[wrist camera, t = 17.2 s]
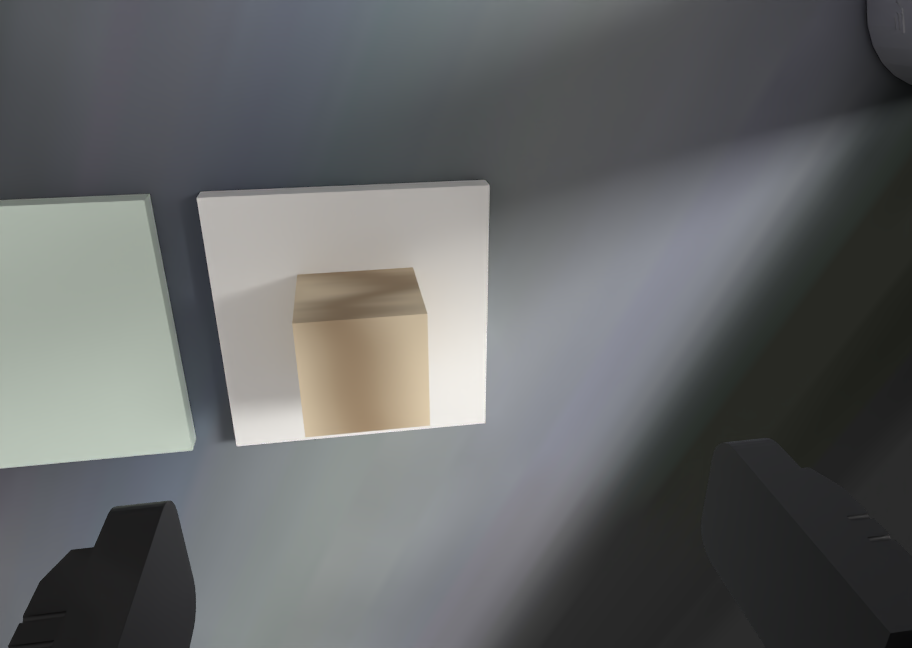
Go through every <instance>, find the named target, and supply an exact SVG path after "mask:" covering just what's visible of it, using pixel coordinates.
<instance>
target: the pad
mask: <svg viewBox="0 0 912 648" xmlns="http://www.w3.org/2000/svg"><path fill="white" fill-rule="evenodd" d="M489 196H490V185H489V184H488V183H487V181H486V180H465V181H441V182H417V183H393V184H370V185H346V186H322V187H298V188H274V189H250V190H226V191H203V192H200V193H199V195H198V196H197V204H198V210H199V216H200V222H201V229H202V235H203V241H204V247H205V253H206V260H207V266H208V272H209V278H210V284H211V290H212V297H213V303H214V309H215V315H216V321H217V328H218V334H219V340H220V346H221V352H222V358H223V365H224V371H225V377H226V383H227V389H228V396H229V402H230V408H231V414H232V420H233V426H234V433H235V439H236V445H237V446H245V445H256V444H267V443H277V442H288V441H299V440H309V439H320V438H331V437H341V436H352V435H363V434H373V433H384V432H395V431H405V430H416V429H427V428H437V427H448V426H459V425H469V424H480V423H485V403H486V352H487V300H488V248H489ZM411 267H413V269H414V272H415V276H416V279H417V282H418V285H419V288H420V292H421V295H422V298H423V301H424V304H425V308H426V311H427V316H428V358H429V400H430V426H420V427H409V428H399V429H388V430H378V431H367V432H357V433H346V434H336V435H326V436H315V437H305V431H304V423H303V414H302V405H301V397H300V388H299V379H298V370H297V362H296V353H295V344H294V336H293V327H292V320H293V310H294V301H295V291H296V281H297V275H299V274H315V273H331V272H347V271H363V270H379V269H395V268H411Z"/></svg>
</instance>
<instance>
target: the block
mask: <svg viewBox="0 0 912 648" xmlns="http://www.w3.org/2000/svg"><path fill="white" fill-rule="evenodd" d="M292 327H293V336H294V344H295V353H296V362H297V370H298V379H299V388H300V397H301V405H302V414H303V423H304V431H305V437H315V436H326V435H336V434H346V433H357V432H367V431H378V430H388V429H399V428H409V427H420V426H430V400H429V358H428V316H427V311H426V308H425V304H424V301H423V298H422V295H421V292H420V288H419V285H418V282H417V279H416V276H415V272H414V269H413V267H411V268H395V269H379V270H363V271H347V272H331V273H315V274H299V275H297V281H296V291H295V301H294V310H293V320H292Z"/></svg>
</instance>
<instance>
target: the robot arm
mask: <svg viewBox="0 0 912 648" xmlns="http://www.w3.org/2000/svg"><path fill="white" fill-rule="evenodd" d="M867 21H868V28H869V32H870V36H871V40H872V44H873V47H874V49H875V50H876V52H877V54H878V56H879V58H880V60H881V62H882V63H883V64H884V65H885V66H886V67H887V68H888V69H889V71H890V72H891V73H892V74H893V75H894V76H896V77H898V78H899V79H901V80H903V81H905V82H907V83H908V84H911V85H912V0H867ZM701 533H702V539H703V544H704V547H705V551H706V553H707V556H708V558H709V560H710V562H711V564H712V565H713V567H714V568H715V570H716V571H717V573H718V575H719V576H720V578H721V579H722V581H723V582H724V584H725V585H726V587H727V589H728V590H729V592H730V593H731V595H732V596H733V598H734V599H735V601H736V603H737V604H738V606H739V607H740V609H741V610H742V612H743V613H744V615H745V616H746V618H747V620H748V621H749V623H750V624H751V626H752V627H753V629H754V630H755V632H756V634H757V635H758V637H759V638H760V640H761V641H762V643H763V644H764V646H765V648H912V556H911V555H910V554H909V553H908V552H907V551H906V550H905V549H904V548H903V547H902V546H901V545H900V544H899V543H898V542H897V541H896V540H891V539H890V534H889V533H888V532H887V531H886V530H885V529H884V528H883V527H882V526H881V525H880V524H879V523H878V522H877V521H876V520H875V519H874V518H872V519H870V518H869V513H868V512H867V511H866V510H865V509H864V508H863V507H862V506H861V505H860V504H859V503H858V502H857V501H856V500H855V499H854V498H853V497H852V496H851V495H850V494H849V493H848V492H847V491H846V490H845V489H844V488H843V487H841V486H839V485H838V484H836V483H834V482H833V481H831V480H829V479H828V478H826V477H824V476H822V475H821V474H819V473H817V472H816V471H814V470H812V469H811V468H800V467H799V465H798V464H797V463H796V462H795V461H794V460H793V459H792V458H791V457H790V456H789V455H788V454H787V453H786V452H785V451H784V450H783V449H782V448H781V447H780V446H779V445H778V444H777V443H776V442H775V441H774V440H772V439H769V438H763V439H754V440H745V441H735V442H726V443H721V444H719V445H718V446H717V447H716V448H715V450H714V453H713V457H712V463H711V469H710V474H709V480H708V486H707V491H706V497H705V502H704V508H703V514H702V520H701ZM195 613H196V594H195V585H194V579H193V575H192V571H191V567H190V562H189V558H188V554H187V550H186V546H185V542H184V538H183V533H182V529H181V525H180V521H179V517H178V513H177V509H176V507H175V505H174V503H173V502H172V501H162V502H153V503H143V504H134V505H125V506H116V507H113V508H112V509H111V510H110V512H109V514H108V516H107V518H106V520H105V523H104V525H103V527H102V530H101V532H100V534H99V537H98V539H97V541H96V544H95V546H94V547H92V548H83V549H75V550H71V551H70V552H69V553H68V554H67V555H66V556H65V557H64V558H63V559H62V560H61V561H60V562H59V563H58V564H57V565H56V566H55V567H54V568H53V569H52V570H51V571H50V572H49V573H48V574H47V575H46V576H45V577H44V578H43V579H42V580H41V581H40V583H39V585H38V587H37V589H36V591H35V593H34V595H33V597H32V599H31V601H30V603H29V605H28V607H27V609H26V611H25V613H24V615H23V623H19V625H18V627H17V629H16V631H15V633H14V635H13V637H12V639H11V641H10V643H9V645H8V647H9V648H189V647H190V643H191V638H192V634H193V629H194V623H195Z"/></svg>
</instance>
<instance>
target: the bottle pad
mask: <svg viewBox="0 0 912 648" xmlns="http://www.w3.org/2000/svg"><path fill="white" fill-rule="evenodd" d="M195 441H196V434H195V429H194V424H193V419H192V413H191V408H190V403H189V398H188V392H187V387H186V382H185V377H184V371H183V366H182V361H181V356H180V350H179V345H178V340H177V335H176V329H175V324H174V319H173V314H172V308H171V303H170V298H169V293H168V287H167V282H166V277H165V272H164V266H163V261H162V256H161V251H160V245H159V240H158V235H157V229H156V224H155V219H154V214H153V208H152V203H151V198H150V194H131V195H107V196H83V197H60V198H36V199H12V200H0V468H11V467H22V466H32V465H43V464H53V463H64V462H75V461H85V460H96V459H107V458H117V457H128V456H139V455H149V454H160V453H171V452H181V451H192V450H193V448H194V444H195Z"/></svg>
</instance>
